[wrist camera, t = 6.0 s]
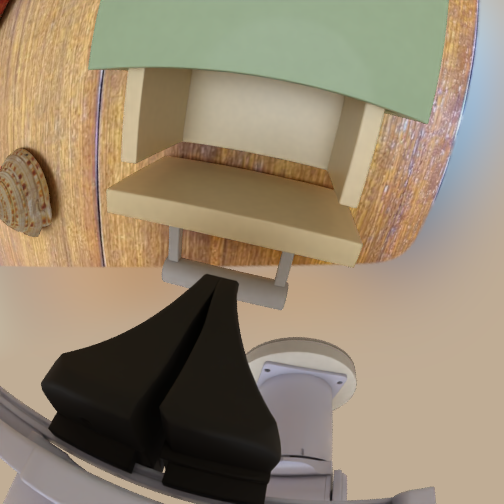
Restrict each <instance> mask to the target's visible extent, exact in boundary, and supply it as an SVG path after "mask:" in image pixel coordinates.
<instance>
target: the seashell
mask: <svg viewBox="0 0 504 504" xmlns="http://www.w3.org/2000/svg"><path fill="white" fill-rule="evenodd" d="M49 197H50V196H49V190H48V186H47V183H46V180H45V176H44V174H43V171H42V169H41V167H40V165H39V164H38V162H37V161H36V159H35V158H34V157H33V156H32V154H31V153H29V152H28V151H27V150H25V149H17V150H15V151H14V152H13V153H11V154H10V155H9V156H8V157H7V158H6V160H5V161H4V163H3V165H2V167H1V169H0V219H1V220H2V221H3V222H4V223H5V224H6V225H7V226H9V227H11V228H12V229H14V230H16V231H18V232H19V231H20V232H23V233H24V234H26V235H28V236H32V237H38V236H39V234H40V231H41V229H42V227H43V226H49V225H51V221H52V212H51V206H50V202H49V200H50V198H49Z"/></svg>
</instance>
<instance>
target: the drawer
mask: <svg viewBox="0 0 504 504" xmlns="http://www.w3.org/2000/svg"><path fill="white" fill-rule="evenodd" d="M384 113H385V109H384V108H381V107H378V106H375V105H372V104H369V103H366V102H363V101H360V100H357V99H353V98H350V97H347V96H343V95H340V94H336V93H332V92H329V91H325V90H321V89H317V88H313V87H308V86H304V85H299V84H295V83H290V82H285V81H280V80H274V79H269V78H263V77H257V76H250V75H243V74H235V73H227V72H218V71H207V70H194V69H175V68H129V69H128V77H127V85H126V94H125V105H124V117H123V131H122V152H121V161H122V162H128V163H138V162H140V161H142V160H144V159H146V158H148V157H150V156H152V155H154V154H156V153H158V152H160V151H162V150H165V149H167V148H169V147H171V146H173V145H175V144H178V143H180V142H190V143H196V144H203V145H209V146H216V147H222V148H227V149H233V150H238V151H244V152H249V153H254V154H259V155H264V156H269V157H274V158H278V159H283V160H287V161H292V162H296V163H300V164H304V165H308V166H312V167H316V168H320V169H324V170H327V171H328V173H329V176H330V179H331V182H332V185H333V187H334V190H332V189H329V188H325V187H321V186H317V185H313V184H309V183H305V182H300V181H296V180H292V179H288V178H283V177H279V176H274V175H270V174H265V173H260V172H256V171H251V170H246V169H241V168H236V167H230V166H225V165H220V164H214V163H208V162H202V161H196V160H190V159H184V158H178V157H171V156H164V157H162V158H161V159H159V160H157V161H155V162H153V163H151V164H149V165H148V166H146V167H144V168H142V169H140V170H139V171H137V172H135V173H133V174H131V175H130V176H128V177H126V178H125V179H123V180H121V181H119V182H118V183H116V184H114V185H113V186H111V187H109V188H108V189H107V190H106V191H107V212H108V213H113V214H118V215H122V216H127V217H131V218H136V219H140V220H145V221H150V222H154V223H159V224H163V225H168V226H170V227H169V256H168V257H167V258H166V260H165V262H164V265H163V269H162V280H163V281H164V282H167V283H171V284H175V285H179V286H182V287H186V288H190V287H192V286H193V285H194V284H195V283H196V282H197V281H198V280H199V279H200V278H201V277H202V276H203V275H205V274H210V275H214V276H218V277H223V278H227V279H231V280H235V281H237V282H238V283H239V288H238V293H237V300H238V301H243V302H247V303H252V304H256V305H260V306H264V307H269V308H273V309H278V310H282V309H283V307H284V304H285V301H286V296H287V291H288V283H287V282H286V281H287V278H288V274H289V271H290V268H291V264H292V261H293V257H294V254H296V255H300V256H305V257H309V258H313V259H318V260H322V261H326V262H331V263H335V264H339V265H344V266H348V267H352V268H354V266H355V264H356V261H357V259H358V256H359V254H360V251H361V249H362V246H363V243H362V241H361V238H360V235H359V232H358V230H357V227H356V224H355V222H354V219H353V217H352V214H351V212H350V209H349V207H352V208H357V207H358V204H359V201H360V198H361V195H362V192H363V188H364V185H365V182H366V179H367V175H368V172H369V169H370V165H371V162H372V158H373V155H374V151H375V148H376V144H377V140H378V137H379V133H380V129H381V125H382V121H383V117H384ZM183 229H186V230H190V231H195V232H199V233H204V234H208V235H213V236H217V237H221V238H226V239H230V240H235V241H239V242H244V243H248V244H252V245H257V246H261V247H266V248H270V249H274V250H279V251H282V254H281V258H280V262H279V266H278V270H277V273H276V277H275V280H274V279H270V278H265V277H261V276H257V275H252V274H248V273H243V272H239V271H235V270H231V269H226V268H222V267H218V266H214V265H210V264H206V263H201V262H197V261H193V260H189V259H185V258H181V251H182V233H183Z"/></svg>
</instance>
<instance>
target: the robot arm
mask: <svg viewBox="0 0 504 504" xmlns="http://www.w3.org/2000/svg"><path fill="white" fill-rule="evenodd" d="M238 288H239V283H238V282H237V281H235V280H231V279H227V278H223V277H218V276H214V275H210V274H205V275H203V276H202V277H201V278H200V279H199V280H198V281H197V282H196V283H195V284H194V285H193V286H192V287H190V288H189V290H187V291H186V292H185V293H184V294H182V295H181V296H180V297H179V298H177V299H176V300H175V301H174V302H172V303H171V304H170V305H169V306H167V307H166V308H164V309H163V310H161V311H160V312H159V313H157V314H156V315H154V316H153V317H151V318H150V319H148V320H146V321H145V322H143V323H141V324H140V325H138V326H136V327H134V328H132V329H130V330H128V331H126V332H125V333H122V334H120V335H118V336H116V337H114V338H111V339H109V340H106V341H104V342H101V343H98V344H95V345H92V346H89V347H86V348H83V349H79V350H75V351H71V352H67V353H63V354H62V355H61V356H60V357H59V358H58V359H57V360H56V362H55V363H54V365H53V366H52V367H51V369H50V370H49V372H48V373H47V375H46V376H45V378H44V379H43V381H42V382H41V386H42V390H43V392H44V393H45V395H46V397H47V398H48V400H49V401H50V403H51V404H52V405H53V407H54V408H55V410H56V411H57V414H56V415H55V417H54V419H53V420H52V422H51V421H50V420H48V419H47V418H45V417H43V416H42V415H40V414H39V413H37V412H35V411H34V410H33V409H31V408H30V407H28V406H27V405H25V404H24V403H22V402H21V401H20V400H18V399H16V398H15V397H14V396H13V395H11V394H10V393H9V392H7V391H6V390H5V389H3V388H2V387H1V386H0V458H1V459H2V460H3V461H5V462H6V463H7V464H8V465H9V466H10V467H12V468H13V469H14V470H15V471H17V472H18V473H17V475H16V477H15V479H14V481H13V483H12V485H11V487H10V489H9V491H8V494H7V496H6V498H5V500H4V502H3V504H163V503H161V502H158V501H155V500H152V499H150V498H147V497H144V496H142V495H139V494H137V493H134V492H132V491H129V490H127V489H125V488H122V487H120V486H117V485H115V484H113V483H111V482H108V481H106V480H104V479H102V478H100V477H98V476H96V475H93V474H91V473H89V472H87V471H86V470H85V469H83V468H82V467H80V466H79V465H78V464H76V463H75V462H74V461H73V460H72V459H71V458H70V457H69V456H68V454H66V453H65V452H63V451H62V450H60V449H59V448H57V447H56V446H55V445H57V446H58V447H60V448H62V449H63V450H65V451H67V452H68V453H70V454H72V455H74V456H76V457H78V458H79V459H81V460H83V461H85V462H87V463H89V464H91V465H93V466H95V467H97V468H99V469H101V470H104V471H105V472H108V473H110V474H112V475H114V476H117V477H119V478H121V479H124V480H126V481H129V482H131V483H134V484H136V485H139V486H141V487H144V488H147V489H150V490H152V491H155V492H158V493H161V494H164V495H167V496H171V497H174V498H178V499H181V500H184V501H188V502H192V503H196V504H436V500H435V488H434V487H427V488H422V489H415V490H409V491H406V492H402V493H399V494H397V495H395V496H394V497H393V498H383V499H372V500H371V499H370V500H351V501H347V476H346V475H345V474H344V473H342V471H341V470H334V480H333V467H332V400H333V398H334V397H335V396H336V394H337V393H338V392H339V390H340V389H341V387H342V386H343V385H344V383H345V382H346V380H347V375H346V374H342V373H335V372H328V371H322V370H315V369H309V368H304V367H298V366H293V365H287V364H282V363H277V362H272V361H266V362H264V364H263V367H262V370H261V373H260V376H259V378H258V381H257V384H256V382H255V379H254V377H253V374H252V372H251V370H250V367H249V364H248V361H247V358H246V354H245V351H244V348H243V343H242V339H241V334H240V329H239V322H238V313H237V293H238ZM49 441H50V442H52V443H53V444H55V445H53V444H52V443H50V442H49ZM164 466H165V469H166V470H165V473H162V472H163V469H164Z"/></svg>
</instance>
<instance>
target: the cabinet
mask: <svg viewBox="0 0 504 504" xmlns="http://www.w3.org/2000/svg"><path fill="white" fill-rule="evenodd" d="M448 3H449V0H101V1H100V5H99V10H98V14H97V19H96V24H95V29H94V34H93V40H92V46H91V52H90V59H89V67H88V70H128V69H129V68H175V69H194V70H207V71H218V72H227V73H235V74H243V75H250V76H257V77H263V78H269V79H274V80H280V81H285V82H290V83H295V84H299V85H304V86H308V87H313V88H317V89H321V90H325V91H329V92H332V93H336V94H340V95H343V96H347V97H350V98H353V99H357V100H360V101H363V102H366V103H369V104H372V105H375V106H378V107H381V108H384V109H385V113H386V114H390V115H394V116H398V117H402V118H406V119H410V120H414V121H418V122H421V123H424V124H428V122H429V118H430V114H431V110H432V105H433V101H434V97H435V92H436V87H437V82H438V77H439V72H440V67H441V61H442V55H443V48H444V41H445V34H446V25H447V15H448Z"/></svg>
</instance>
